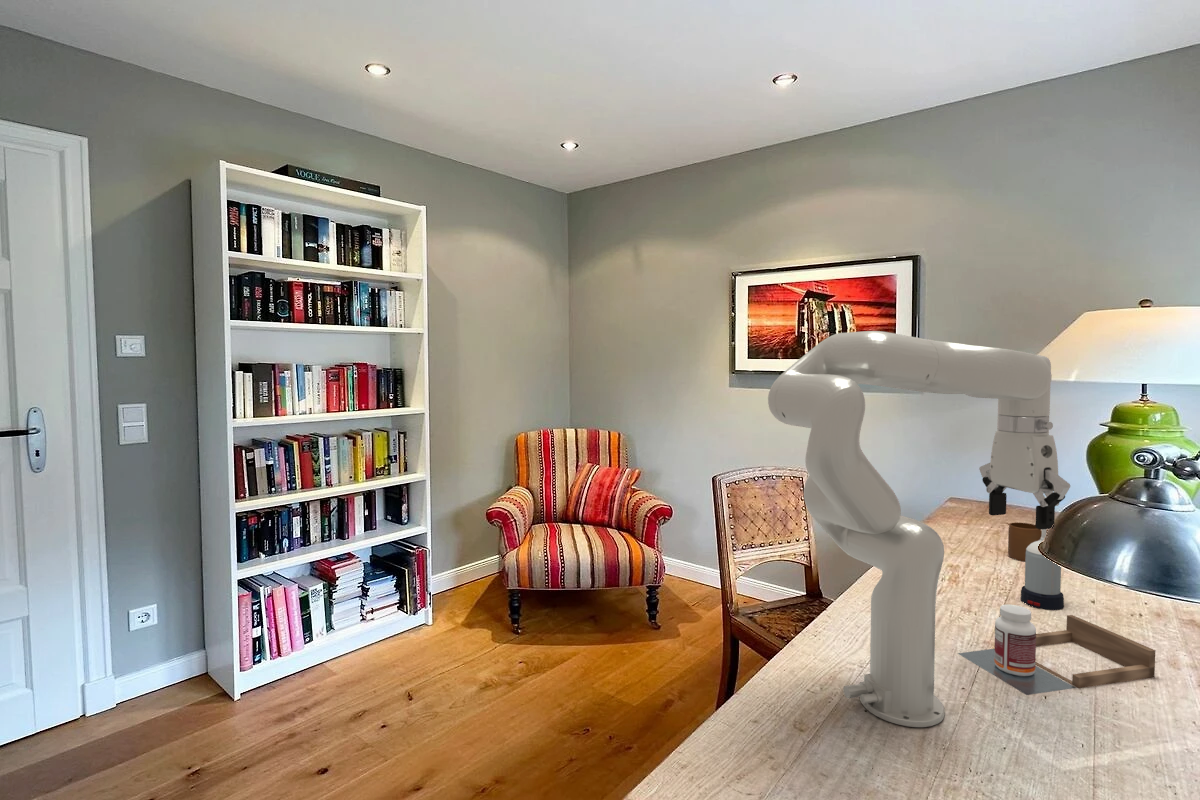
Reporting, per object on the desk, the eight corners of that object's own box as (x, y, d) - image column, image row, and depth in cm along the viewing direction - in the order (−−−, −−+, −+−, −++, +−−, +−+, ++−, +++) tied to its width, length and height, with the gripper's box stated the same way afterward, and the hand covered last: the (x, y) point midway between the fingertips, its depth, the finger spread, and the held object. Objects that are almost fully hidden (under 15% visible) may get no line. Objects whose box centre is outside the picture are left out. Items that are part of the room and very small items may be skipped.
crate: (1078, 694, 105) (1079, 660, 104) (1002, 652, 120) (1003, 622, 119) (1154, 683, 108) (1155, 650, 107) (1070, 644, 123) (1071, 614, 122)
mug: (1059, 559, 173) (1060, 526, 173) (1060, 567, 167) (1061, 533, 166) (1008, 552, 180) (1009, 520, 180) (1007, 559, 174) (1008, 526, 173)
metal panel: (1075, 694, 105) (1026, 701, 103) (1002, 653, 119) (957, 659, 118) (1076, 687, 105) (1026, 694, 103) (1002, 647, 119) (957, 653, 117)
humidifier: (1025, 607, 141) (1029, 499, 139) (1016, 594, 149) (1019, 492, 147) (1069, 612, 138) (1072, 502, 136) (1057, 598, 146) (1060, 494, 144)
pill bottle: (1041, 671, 110) (1043, 611, 110) (1025, 681, 107) (1027, 619, 106) (1003, 657, 116) (1005, 600, 115) (987, 666, 112) (988, 607, 112)
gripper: (1088, 430, 101) (1084, 533, 102) (1000, 420, 118) (997, 508, 119) (1049, 431, 99) (1046, 536, 100) (966, 421, 116) (964, 511, 117)
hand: (1020, 521), depth 109 cm, fingers open, 9 cm apart
